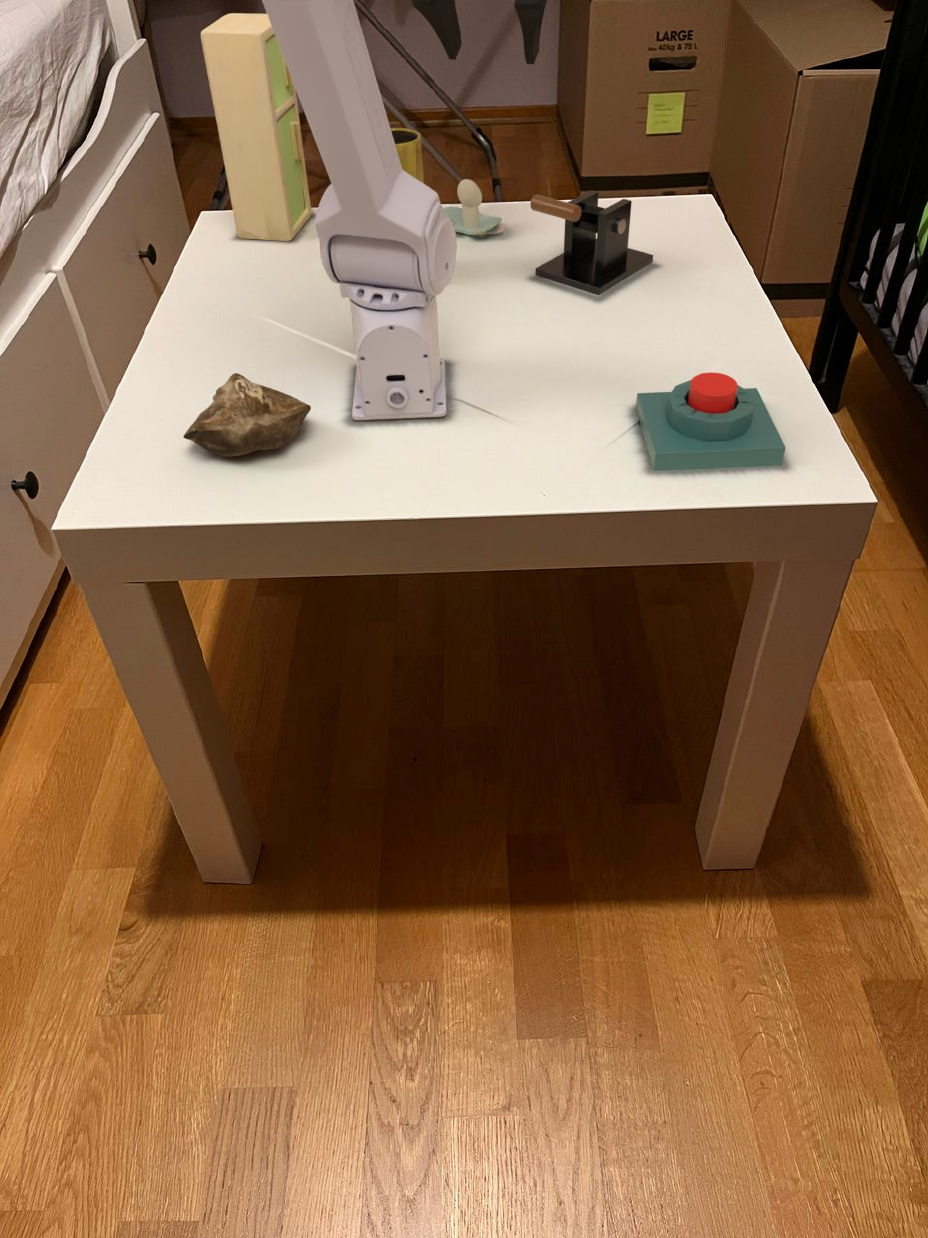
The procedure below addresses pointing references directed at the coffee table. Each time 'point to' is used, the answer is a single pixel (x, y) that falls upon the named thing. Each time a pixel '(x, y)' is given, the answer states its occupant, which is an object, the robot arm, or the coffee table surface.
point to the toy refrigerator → (257, 127)
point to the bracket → (596, 250)
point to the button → (712, 393)
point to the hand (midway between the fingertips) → (493, 54)
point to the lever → (568, 211)
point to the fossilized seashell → (247, 419)
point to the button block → (707, 432)
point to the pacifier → (472, 212)
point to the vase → (409, 151)
